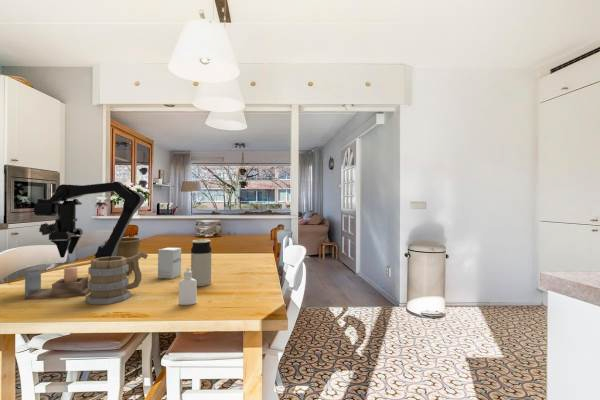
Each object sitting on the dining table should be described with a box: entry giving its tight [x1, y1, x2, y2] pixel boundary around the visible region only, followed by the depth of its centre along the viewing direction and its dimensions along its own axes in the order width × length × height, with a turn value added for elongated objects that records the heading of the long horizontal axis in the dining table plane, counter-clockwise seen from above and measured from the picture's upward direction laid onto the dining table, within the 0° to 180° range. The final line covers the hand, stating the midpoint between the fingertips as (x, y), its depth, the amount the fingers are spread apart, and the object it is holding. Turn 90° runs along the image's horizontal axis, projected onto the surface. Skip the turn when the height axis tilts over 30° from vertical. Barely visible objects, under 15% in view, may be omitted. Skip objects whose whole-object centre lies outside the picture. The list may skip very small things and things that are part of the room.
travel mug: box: [190, 239, 212, 287], centre depth 137 cm, size 8×8×18 cm
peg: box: [63, 266, 78, 283], centre depth 123 cm, size 4×4×8 cm
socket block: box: [24, 263, 90, 300], centre depth 122 cm, size 18×10×10 cm, turn 108°
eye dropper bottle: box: [178, 267, 198, 306], centre depth 112 cm, size 4×6×12 cm
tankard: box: [85, 251, 149, 305], centre depth 119 cm, size 20×13×15 cm, turn 139°
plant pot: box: [104, 236, 142, 275], centre depth 155 cm, size 15×15×16 cm
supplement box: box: [157, 247, 182, 280], centre depth 151 cm, size 7×7×13 cm
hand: (66, 255), depth 133 cm, fingers open, 9 cm apart
